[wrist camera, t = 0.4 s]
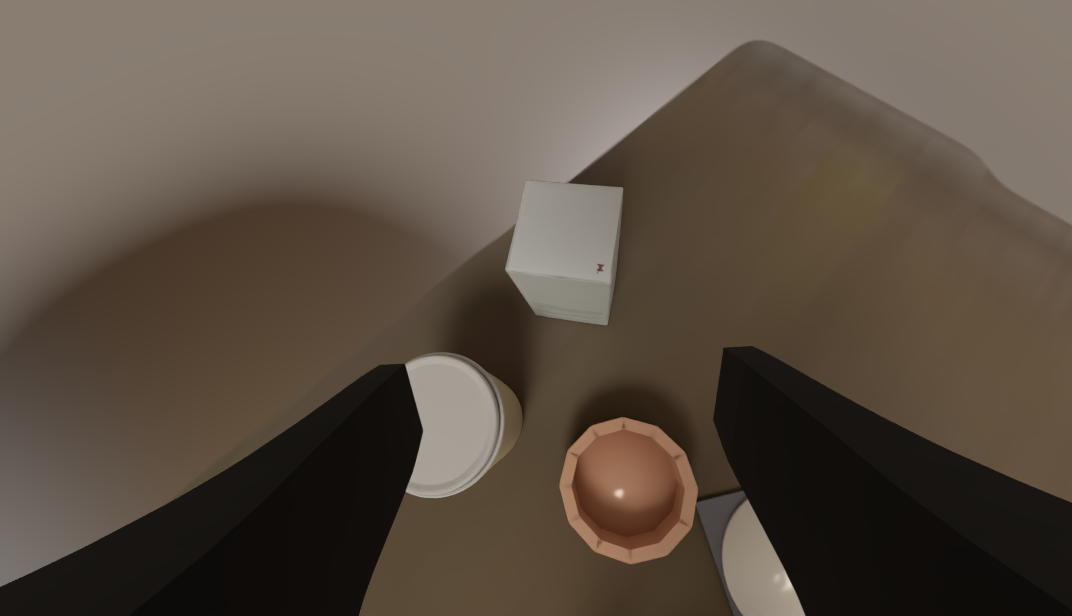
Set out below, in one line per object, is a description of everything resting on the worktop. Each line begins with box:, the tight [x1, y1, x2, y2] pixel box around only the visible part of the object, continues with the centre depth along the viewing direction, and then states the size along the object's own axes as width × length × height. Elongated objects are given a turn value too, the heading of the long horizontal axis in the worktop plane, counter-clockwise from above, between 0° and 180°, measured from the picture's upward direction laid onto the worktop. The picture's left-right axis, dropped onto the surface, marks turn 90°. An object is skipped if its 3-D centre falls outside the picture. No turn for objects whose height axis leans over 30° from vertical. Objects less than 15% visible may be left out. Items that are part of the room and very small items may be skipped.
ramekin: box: [560, 417, 698, 564], centre depth 32 cm, size 10×10×4 cm
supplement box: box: [505, 180, 623, 325], centre depth 33 cm, size 7×7×13 cm
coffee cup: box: [405, 352, 523, 498], centre depth 32 cm, size 9×9×12 cm
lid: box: [721, 498, 805, 616], centre depth 28 cm, size 12×12×4 cm
